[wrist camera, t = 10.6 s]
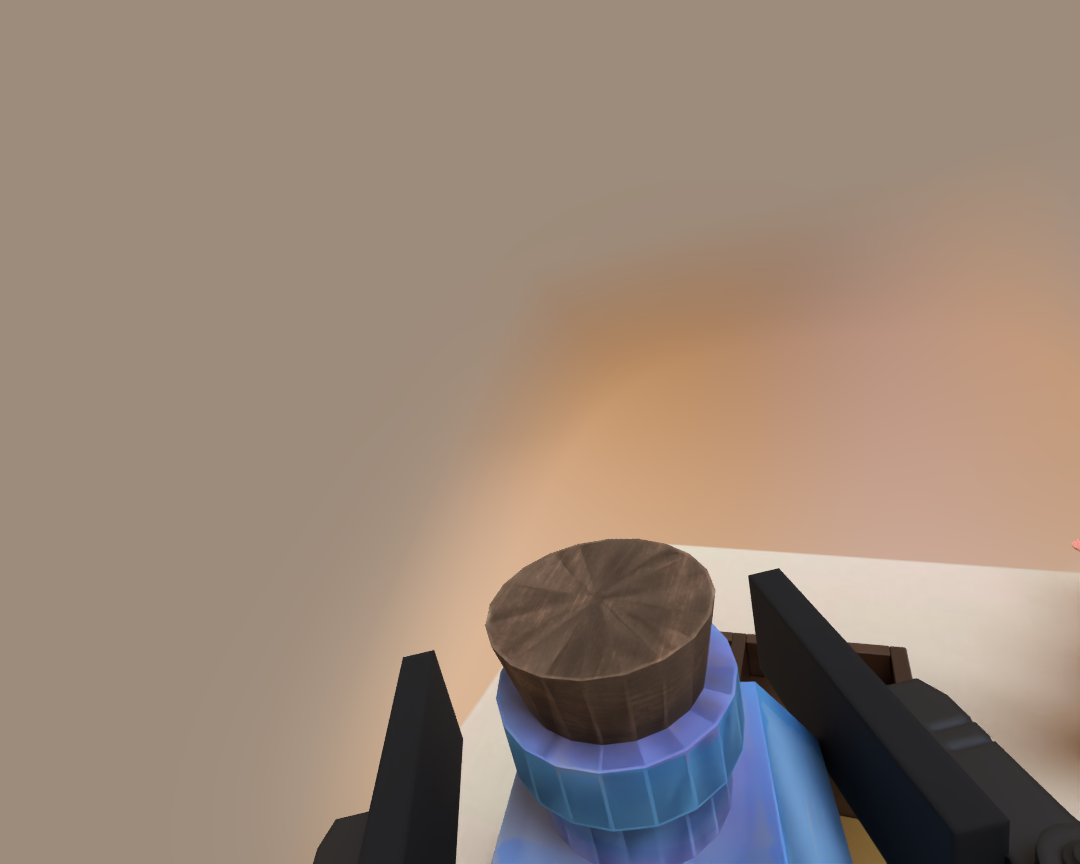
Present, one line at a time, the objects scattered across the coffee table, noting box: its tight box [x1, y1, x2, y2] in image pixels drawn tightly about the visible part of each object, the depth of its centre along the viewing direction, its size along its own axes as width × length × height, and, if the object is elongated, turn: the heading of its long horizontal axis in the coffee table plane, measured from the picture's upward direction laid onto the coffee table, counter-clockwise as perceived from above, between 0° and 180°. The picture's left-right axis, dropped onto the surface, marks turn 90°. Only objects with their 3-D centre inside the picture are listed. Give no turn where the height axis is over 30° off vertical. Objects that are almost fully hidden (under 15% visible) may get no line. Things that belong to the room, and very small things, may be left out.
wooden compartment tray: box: [721, 632, 912, 864], centre depth 29 cm, size 17×17×3 cm
